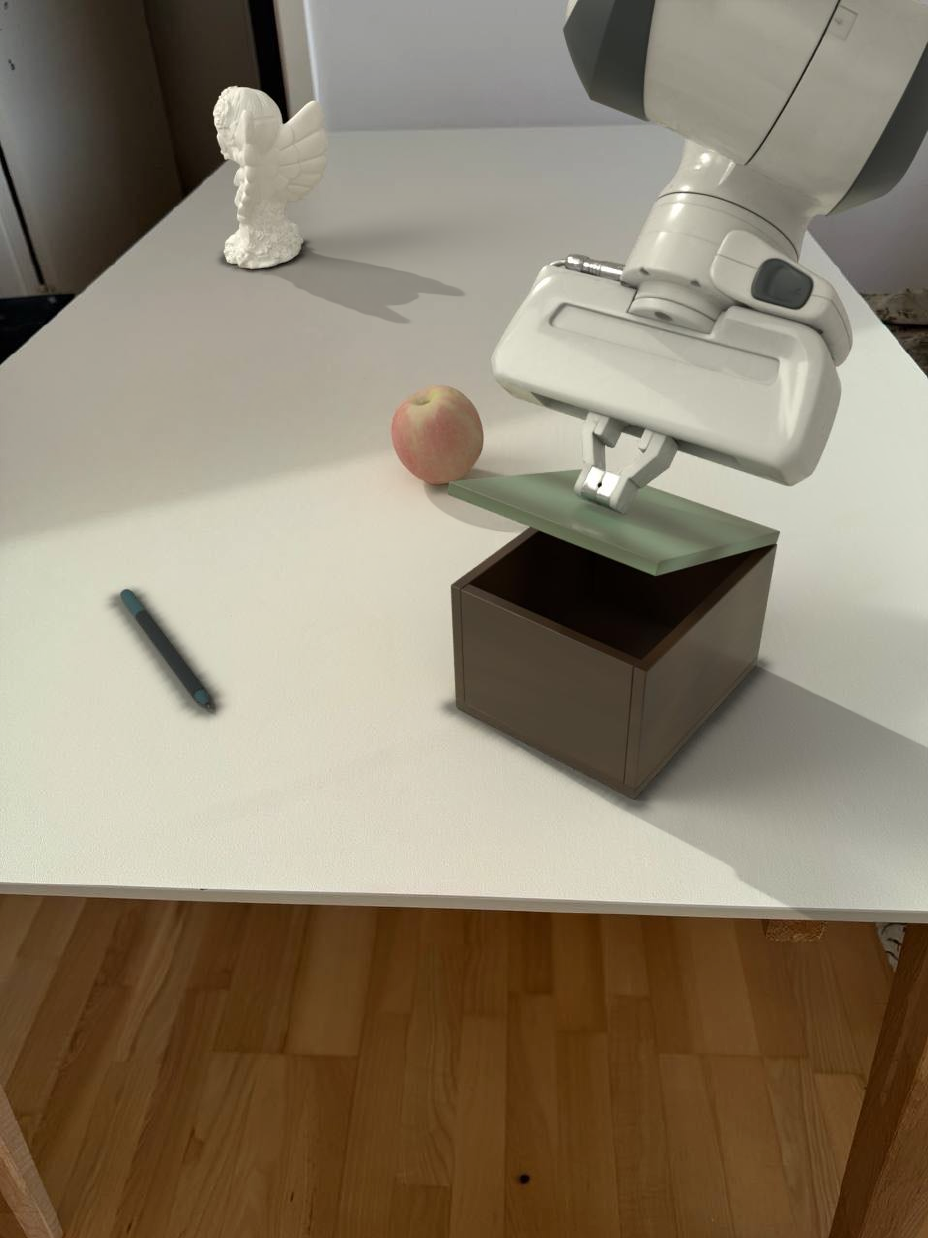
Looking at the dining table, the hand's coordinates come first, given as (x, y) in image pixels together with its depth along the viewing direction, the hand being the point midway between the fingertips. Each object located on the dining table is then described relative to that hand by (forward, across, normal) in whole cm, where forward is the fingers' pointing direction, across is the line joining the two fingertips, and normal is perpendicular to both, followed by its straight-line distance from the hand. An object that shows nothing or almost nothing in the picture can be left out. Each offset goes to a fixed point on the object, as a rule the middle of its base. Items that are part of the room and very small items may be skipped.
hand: (598, 504), depth 62 cm
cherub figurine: (-24, -82, +46) cm, 97 cm away
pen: (+20, -27, +2) cm, 34 cm away
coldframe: (+9, 0, +12) cm, 15 cm away
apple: (-1, -27, +23) cm, 35 cm away
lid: (0, 0, +3) cm, 3 cm away
